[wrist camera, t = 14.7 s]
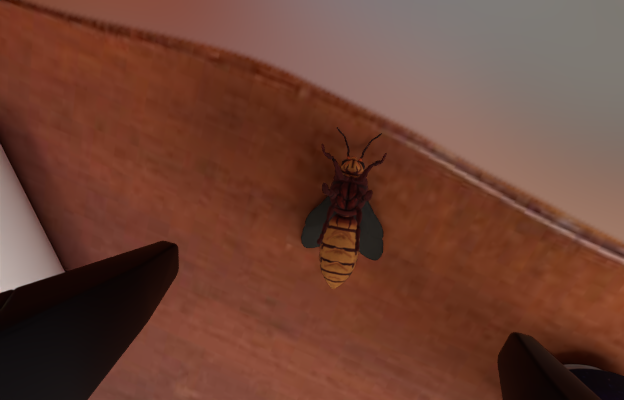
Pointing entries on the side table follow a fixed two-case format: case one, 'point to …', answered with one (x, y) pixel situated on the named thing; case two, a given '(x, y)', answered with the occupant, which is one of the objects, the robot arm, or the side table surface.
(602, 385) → the beverage can
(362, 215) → the insect
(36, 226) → the candle
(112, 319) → the robot arm
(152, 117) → the side table surface
